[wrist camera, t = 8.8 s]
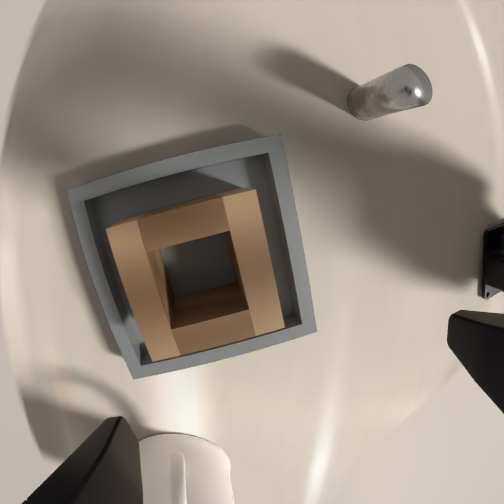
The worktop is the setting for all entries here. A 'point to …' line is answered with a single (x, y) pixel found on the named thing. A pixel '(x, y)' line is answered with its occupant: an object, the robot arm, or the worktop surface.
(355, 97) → the post
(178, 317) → the brown square socket block
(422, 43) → the worktop surface
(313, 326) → the tray
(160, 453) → the mug
